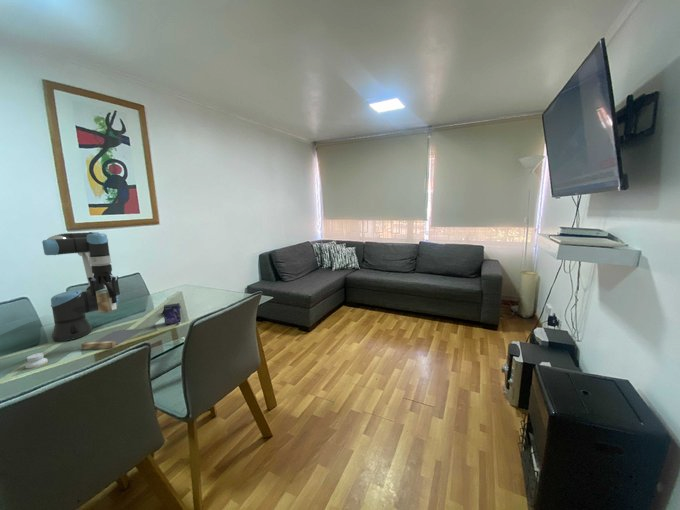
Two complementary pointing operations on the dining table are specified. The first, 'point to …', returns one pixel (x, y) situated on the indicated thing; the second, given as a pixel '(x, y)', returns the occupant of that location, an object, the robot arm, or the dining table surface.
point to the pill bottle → (35, 361)
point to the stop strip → (98, 345)
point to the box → (172, 313)
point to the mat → (119, 336)
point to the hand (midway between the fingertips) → (108, 309)
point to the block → (103, 301)
